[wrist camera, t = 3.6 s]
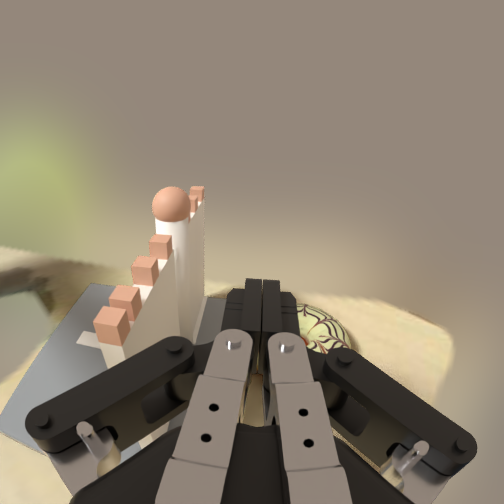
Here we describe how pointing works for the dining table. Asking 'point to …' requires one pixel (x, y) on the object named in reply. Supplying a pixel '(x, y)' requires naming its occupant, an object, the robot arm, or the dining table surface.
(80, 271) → the dining table surface
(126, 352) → the white crenellated wall panel
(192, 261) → the fence post and fixed panel
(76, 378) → the card
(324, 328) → the decorated donut
